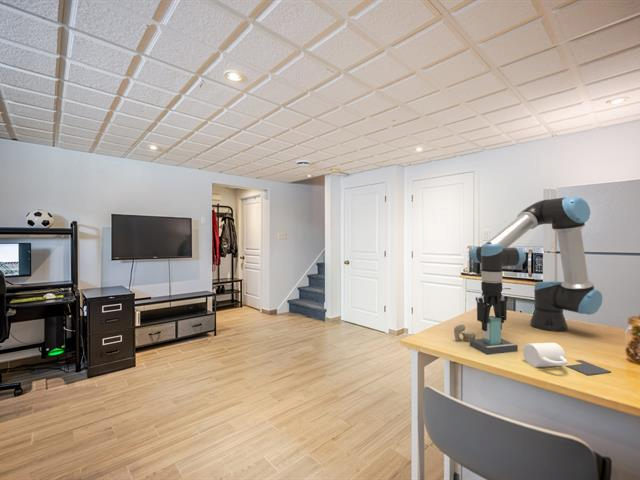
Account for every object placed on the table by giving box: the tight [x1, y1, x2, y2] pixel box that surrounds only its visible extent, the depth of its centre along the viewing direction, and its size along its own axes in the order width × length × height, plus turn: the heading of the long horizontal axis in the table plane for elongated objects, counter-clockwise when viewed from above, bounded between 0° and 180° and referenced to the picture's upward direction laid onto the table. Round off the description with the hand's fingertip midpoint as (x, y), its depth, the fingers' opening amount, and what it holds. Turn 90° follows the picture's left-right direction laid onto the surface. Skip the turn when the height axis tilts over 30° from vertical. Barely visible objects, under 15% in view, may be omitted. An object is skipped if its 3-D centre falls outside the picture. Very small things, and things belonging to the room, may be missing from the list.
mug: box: [522, 342, 569, 368], centre depth 109 cm, size 12×10×8 cm
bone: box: [453, 323, 476, 343], centre depth 135 cm, size 9×6×10 cm
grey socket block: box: [469, 338, 519, 355], centre depth 126 cm, size 14×10×3 cm
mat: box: [565, 359, 612, 377], centre depth 108 cm, size 10×10×1 cm
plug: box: [482, 315, 502, 345], centre depth 126 cm, size 5×5×12 cm
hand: (491, 338), depth 126 cm, fingers closed on plug, 4 cm apart
